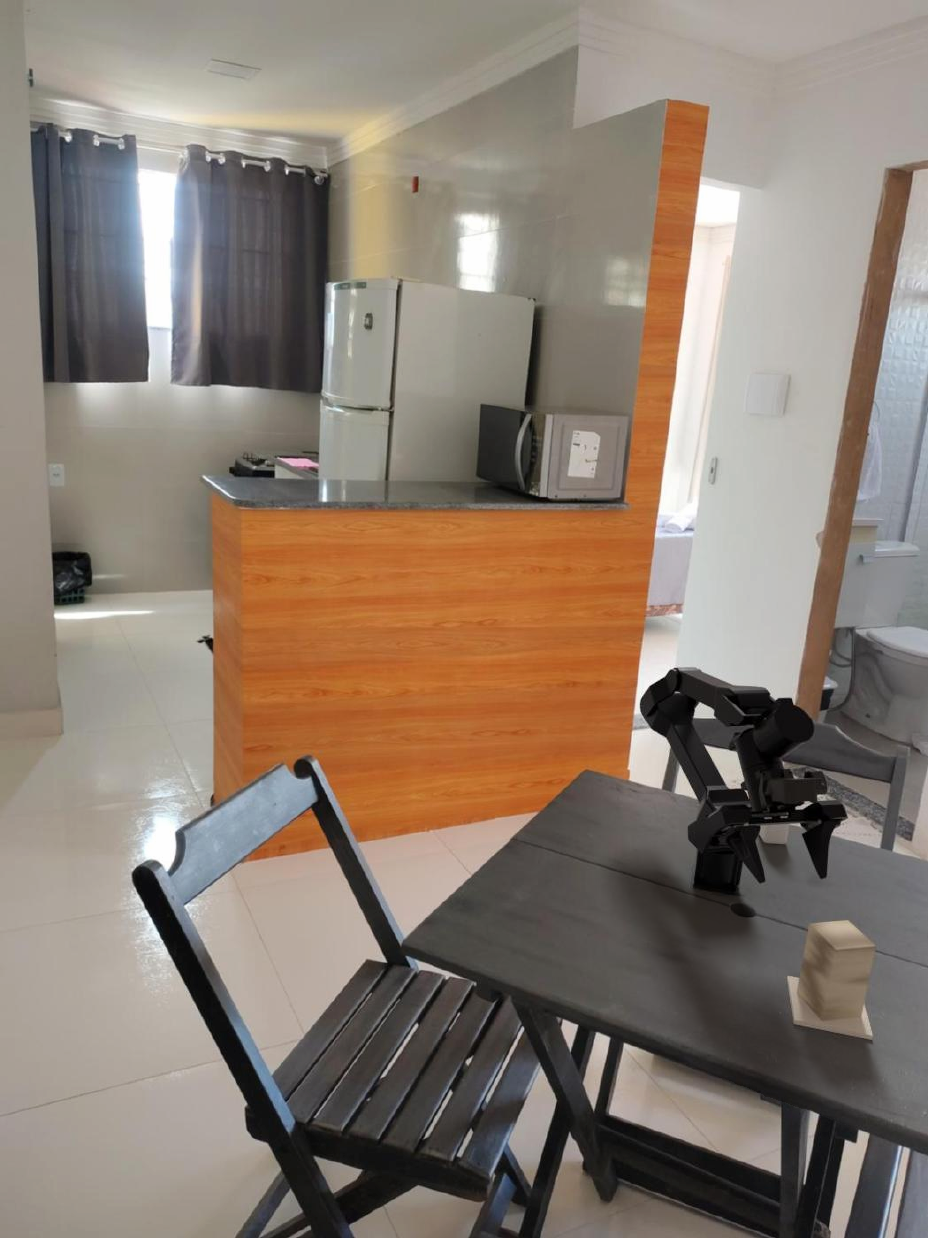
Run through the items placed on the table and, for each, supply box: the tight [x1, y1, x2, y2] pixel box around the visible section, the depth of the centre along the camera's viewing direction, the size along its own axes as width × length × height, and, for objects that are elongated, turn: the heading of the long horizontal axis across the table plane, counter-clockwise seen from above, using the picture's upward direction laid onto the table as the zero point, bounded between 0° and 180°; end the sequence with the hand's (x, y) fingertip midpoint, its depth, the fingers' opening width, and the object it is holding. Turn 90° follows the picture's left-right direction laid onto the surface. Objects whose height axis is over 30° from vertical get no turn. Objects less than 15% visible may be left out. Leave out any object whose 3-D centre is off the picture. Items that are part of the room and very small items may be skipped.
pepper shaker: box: [758, 816, 790, 845], centre depth 159 cm, size 4×4×10 cm
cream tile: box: [786, 975, 874, 1041], centre depth 117 cm, size 9×9×1 cm
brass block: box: [797, 919, 877, 1021], centre depth 116 cm, size 6×6×10 cm
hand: (793, 880), depth 125 cm, fingers open, 9 cm apart
